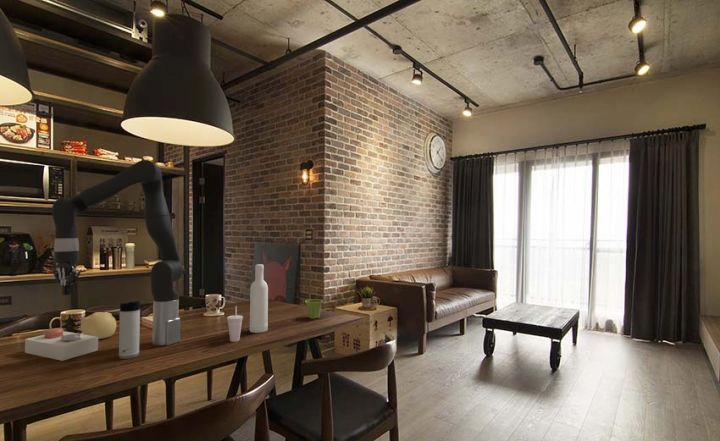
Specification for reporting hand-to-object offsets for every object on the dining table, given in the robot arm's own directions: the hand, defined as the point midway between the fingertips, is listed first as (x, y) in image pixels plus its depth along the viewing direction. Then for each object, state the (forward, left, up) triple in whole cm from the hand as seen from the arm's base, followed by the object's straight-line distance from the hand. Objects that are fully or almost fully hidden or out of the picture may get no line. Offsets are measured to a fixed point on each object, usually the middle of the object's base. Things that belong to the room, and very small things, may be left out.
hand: (66, 294), depth 143 cm
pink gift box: (+2, +3, -19) cm, 19 cm away
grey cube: (-8, +3, -20) cm, 22 cm away
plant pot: (-64, -81, -21) cm, 105 cm away
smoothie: (-53, -33, -21) cm, 66 cm away
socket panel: (-3, +3, -20) cm, 21 cm away
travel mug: (-31, -3, -21) cm, 38 cm away
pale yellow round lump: (+2, -14, -21) cm, 25 cm away
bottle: (-53, -49, -21) cm, 75 cm away
